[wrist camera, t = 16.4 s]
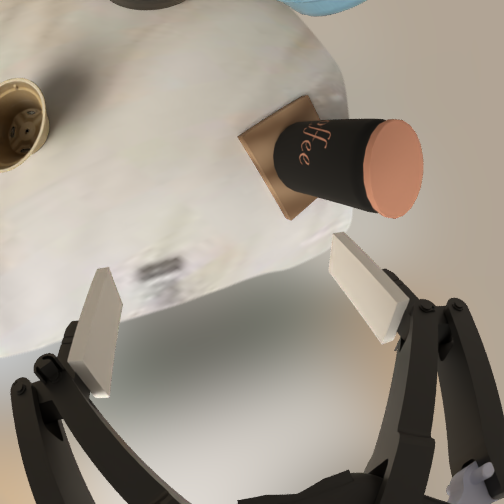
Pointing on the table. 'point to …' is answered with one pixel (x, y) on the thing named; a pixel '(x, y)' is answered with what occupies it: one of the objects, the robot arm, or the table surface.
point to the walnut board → (262, 147)
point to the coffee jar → (353, 163)
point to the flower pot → (21, 121)
